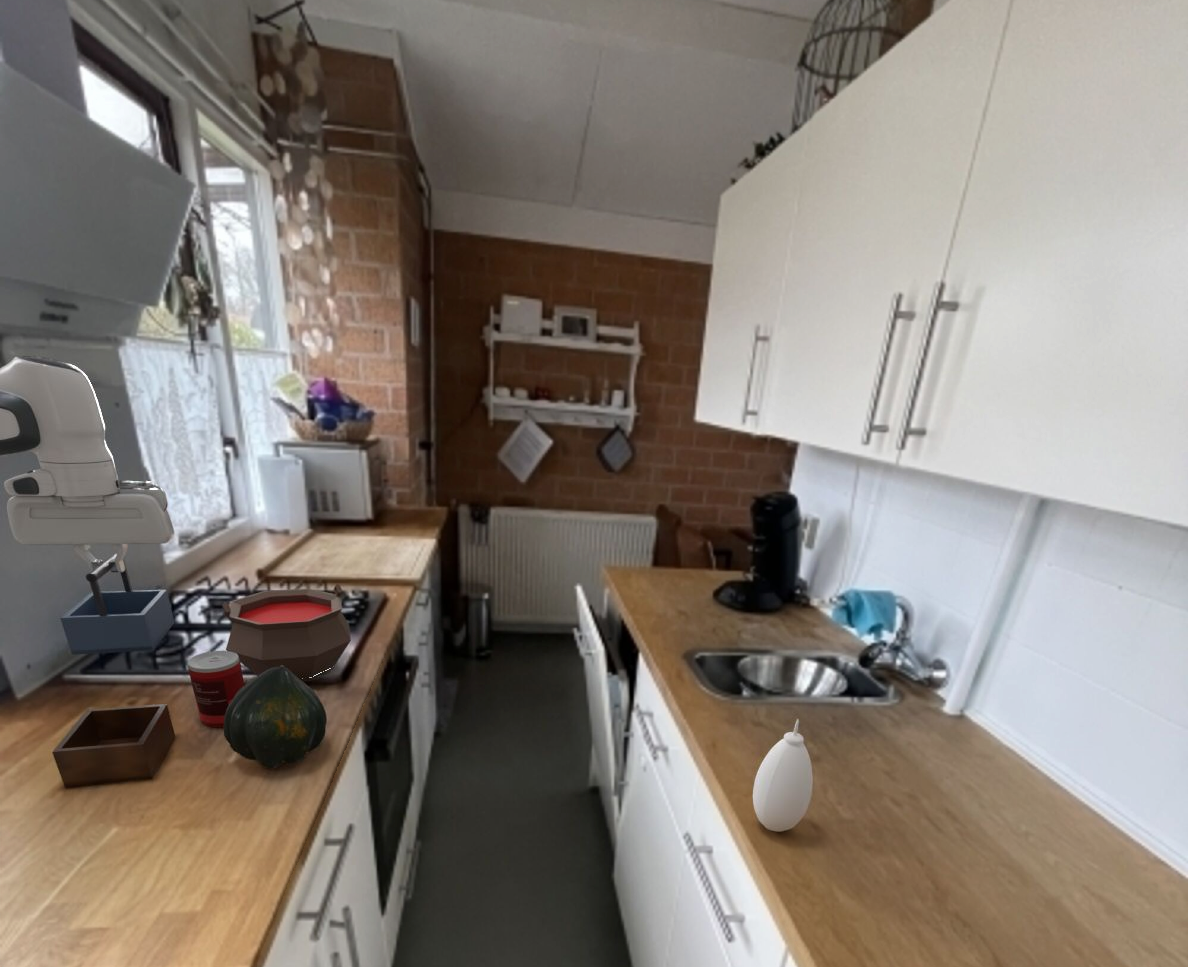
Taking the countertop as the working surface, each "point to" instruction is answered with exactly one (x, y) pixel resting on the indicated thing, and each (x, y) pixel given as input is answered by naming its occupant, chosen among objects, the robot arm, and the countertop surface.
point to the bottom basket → (115, 745)
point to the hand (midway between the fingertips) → (108, 571)
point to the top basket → (117, 617)
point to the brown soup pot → (288, 631)
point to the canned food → (215, 684)
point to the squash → (275, 719)
